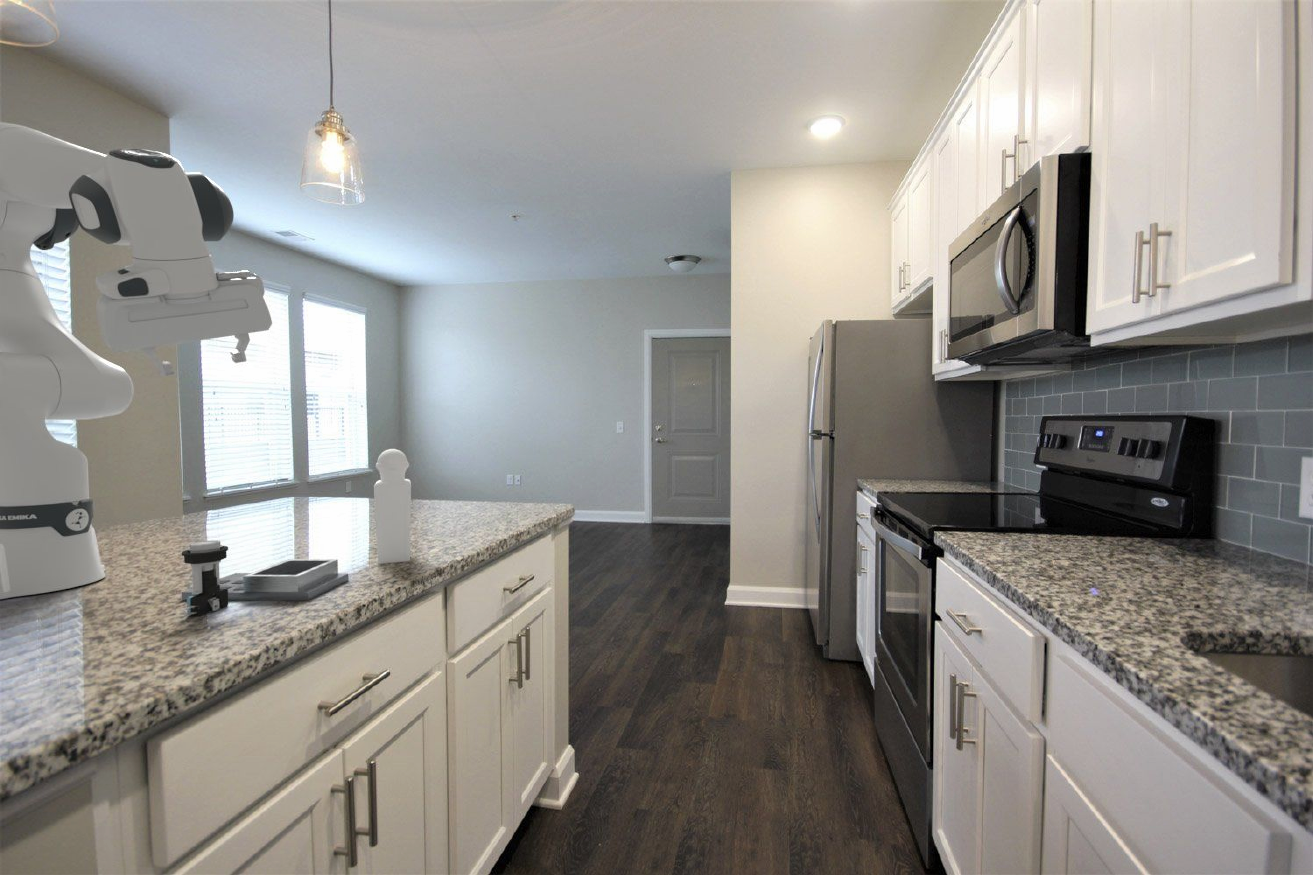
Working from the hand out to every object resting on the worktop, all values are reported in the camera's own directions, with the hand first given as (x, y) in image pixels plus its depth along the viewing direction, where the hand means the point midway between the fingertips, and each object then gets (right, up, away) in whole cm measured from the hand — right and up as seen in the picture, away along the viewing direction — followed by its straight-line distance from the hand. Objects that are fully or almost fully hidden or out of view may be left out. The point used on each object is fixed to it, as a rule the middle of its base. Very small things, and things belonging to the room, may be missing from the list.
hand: (204, 367), depth 89 cm
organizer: (+6, -36, +6) cm, 37 cm away
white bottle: (+18, -35, +26) cm, 47 cm away
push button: (+4, -36, -5) cm, 37 cm away
